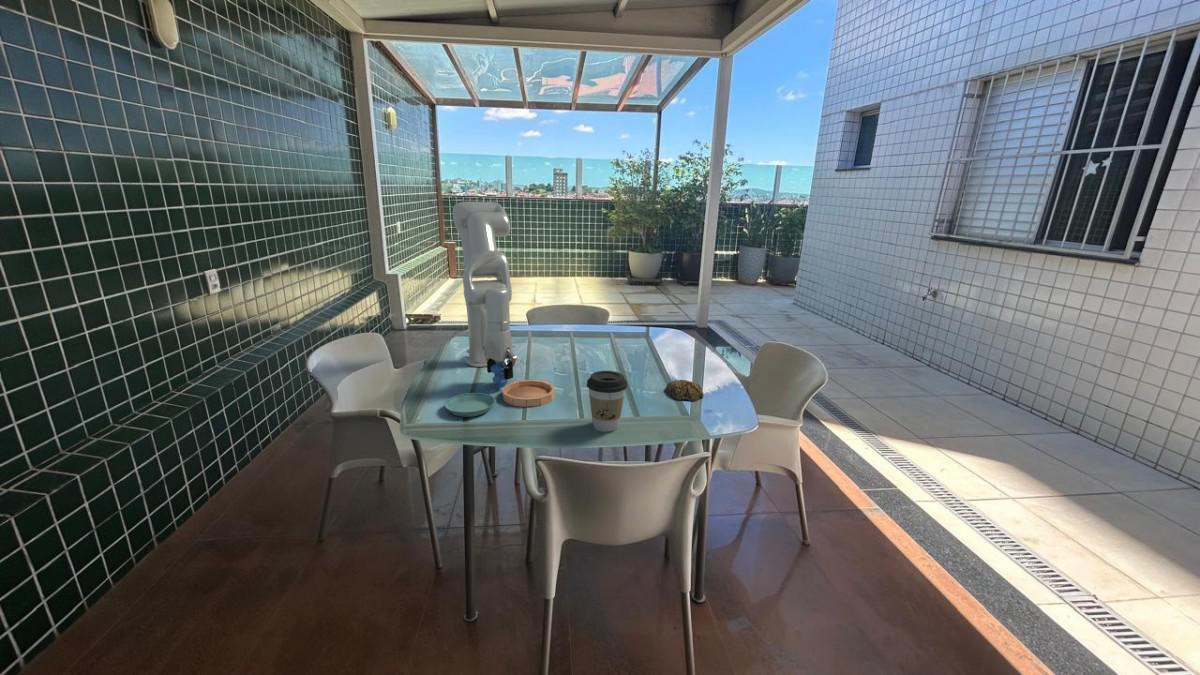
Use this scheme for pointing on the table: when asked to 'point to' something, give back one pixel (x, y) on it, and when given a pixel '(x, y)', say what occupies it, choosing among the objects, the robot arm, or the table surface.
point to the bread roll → (684, 390)
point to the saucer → (470, 404)
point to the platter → (528, 393)
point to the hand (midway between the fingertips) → (500, 375)
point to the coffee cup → (606, 399)
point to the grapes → (499, 374)
